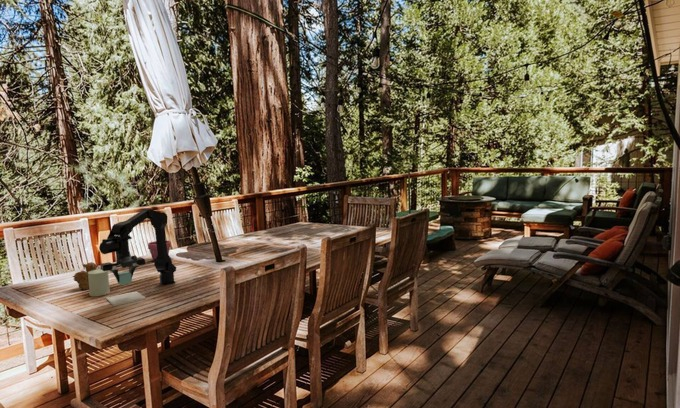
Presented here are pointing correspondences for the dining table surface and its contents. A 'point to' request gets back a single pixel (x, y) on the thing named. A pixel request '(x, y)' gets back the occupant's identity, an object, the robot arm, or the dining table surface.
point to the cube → (125, 278)
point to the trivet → (125, 298)
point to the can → (98, 282)
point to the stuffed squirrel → (84, 275)
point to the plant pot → (153, 248)
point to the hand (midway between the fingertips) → (124, 281)
